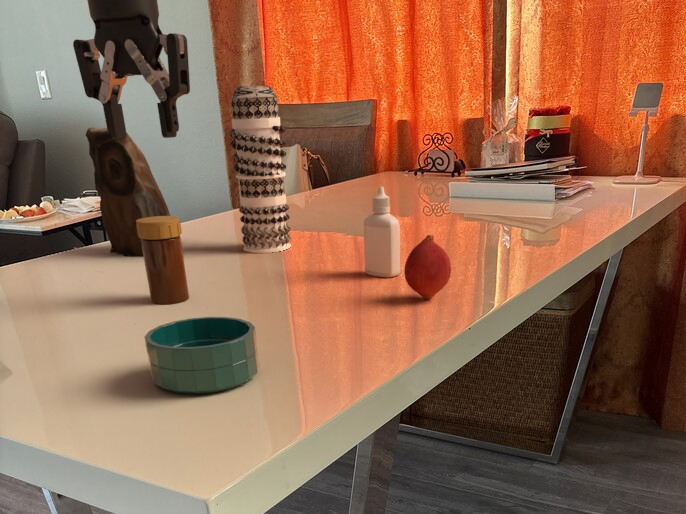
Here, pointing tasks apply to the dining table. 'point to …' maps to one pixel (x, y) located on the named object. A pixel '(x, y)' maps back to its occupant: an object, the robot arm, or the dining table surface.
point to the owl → (123, 189)
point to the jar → (165, 270)
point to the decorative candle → (260, 169)
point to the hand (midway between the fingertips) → (144, 137)
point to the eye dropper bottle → (381, 239)
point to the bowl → (202, 354)
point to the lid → (158, 227)
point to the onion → (427, 268)
